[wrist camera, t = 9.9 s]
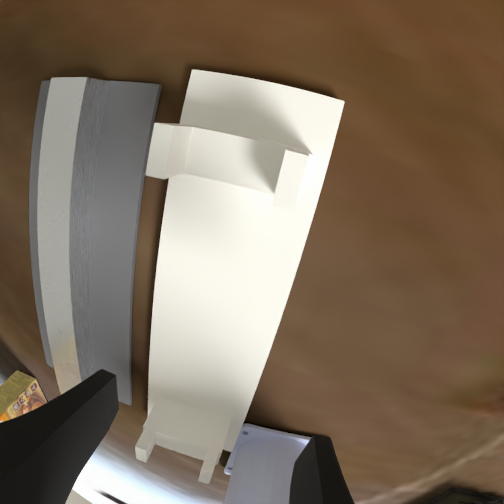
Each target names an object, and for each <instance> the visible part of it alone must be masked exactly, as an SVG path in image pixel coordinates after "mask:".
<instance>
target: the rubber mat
mask: <svg viewBox="0 0 504 504" xmlns="http://www.w3.org/2000/svg"><path fill="white" fill-rule="evenodd" d="M50 82H51V80H47V81H42V82H41V87H40V92H39V98H38V104H37V110H36V117H35V124H34V132H33V142H32V152H31V165H30V185H29V233H30V253H31V266H32V277H33V286H34V295H35V302H36V309H37V316H38V322H39V328H40V333H41V339H42V344H43V348H44V353H45V358H46V362H47V365H49V366H50V367H52V368H54V365H53V360H52V355H51V350H50V345H49V340H48V334H47V328H46V322H45V315H44V308H43V300H42V291H41V282H40V270H39V256H38V231H37V199H38V175H39V160H40V149H41V139H42V131H43V123H44V116H45V110H46V103H47V98H48V92H49V87H50ZM161 88H162V85H160V84H151V83H139V82H125V81H110V84H109V89H108V93H107V98H106V103H105V108H104V114H103V120H102V125H101V132H100V138H99V145H98V152H97V160H96V168H95V178H94V188H93V200H92V214H91V233H90V305H91V325H92V339H93V351H94V361H95V370H96V372H97V371H98V370H100V369H104V370H106V371H108V372H111V373H113V374H115V375H116V378H117V392H118V401H120V402H122V403H125V404H127V405H129V406H131V404H132V379H131V333H132V303H133V284H134V269H135V256H136V245H137V235H138V225H139V216H140V208H141V200H142V193H143V185H144V179H145V172H146V166H147V159H148V153H149V148H150V142H151V137H152V131H153V126H154V121H155V116H156V111H157V106H158V102H159V97H160V93H161Z"/></svg>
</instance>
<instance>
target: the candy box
mask: <svg viewBox="0 0 504 504" xmlns="http://www.w3.org/2000/svg"><path fill="white" fill-rule="evenodd" d="M45 403H47V400H46V398H45V396H44V394H43V392H42V390H41V388H40V386H39V383H38V381H37V379H36V378H34V377H32V376H29V375H27V374H25V373H23V372H20V371H18V370H17V371H15V372H14V373H13V374H12V375H11V376H10V377H9V378H8V379H7V380H6V381H5V382H4V383H3V384H2V385H1V386H0V423H1V422H4V421H7V420H10V419H13V418H15V417H18V416H20V415H23V414H25V413H27V412H30V411H32V410H34V409H36V408H38V407H40V406H42V405H44V404H45Z"/></svg>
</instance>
